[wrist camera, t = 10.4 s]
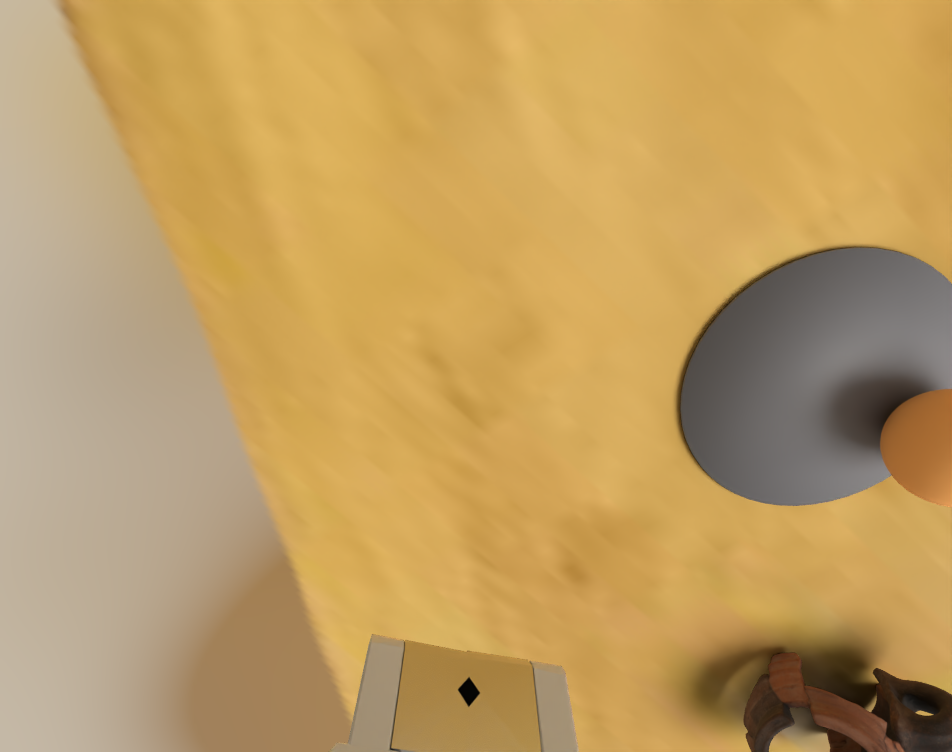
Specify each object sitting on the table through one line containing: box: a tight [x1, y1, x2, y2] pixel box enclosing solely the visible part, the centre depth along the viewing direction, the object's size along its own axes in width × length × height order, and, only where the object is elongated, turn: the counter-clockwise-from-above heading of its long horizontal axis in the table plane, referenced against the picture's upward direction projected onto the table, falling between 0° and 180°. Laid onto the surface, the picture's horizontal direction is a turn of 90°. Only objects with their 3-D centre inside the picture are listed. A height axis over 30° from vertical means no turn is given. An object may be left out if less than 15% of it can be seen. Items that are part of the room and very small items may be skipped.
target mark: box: [680, 247, 952, 506], centre depth 28 cm, size 14×14×1 cm
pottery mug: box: [744, 653, 952, 752], centre depth 34 cm, size 12×10×8 cm
